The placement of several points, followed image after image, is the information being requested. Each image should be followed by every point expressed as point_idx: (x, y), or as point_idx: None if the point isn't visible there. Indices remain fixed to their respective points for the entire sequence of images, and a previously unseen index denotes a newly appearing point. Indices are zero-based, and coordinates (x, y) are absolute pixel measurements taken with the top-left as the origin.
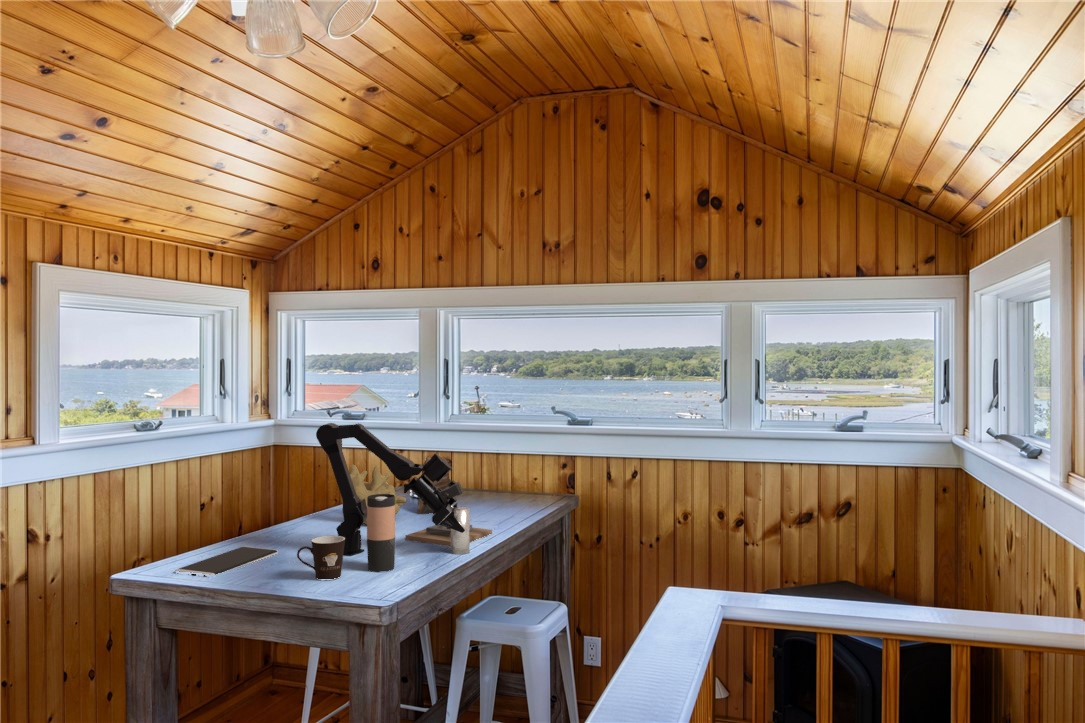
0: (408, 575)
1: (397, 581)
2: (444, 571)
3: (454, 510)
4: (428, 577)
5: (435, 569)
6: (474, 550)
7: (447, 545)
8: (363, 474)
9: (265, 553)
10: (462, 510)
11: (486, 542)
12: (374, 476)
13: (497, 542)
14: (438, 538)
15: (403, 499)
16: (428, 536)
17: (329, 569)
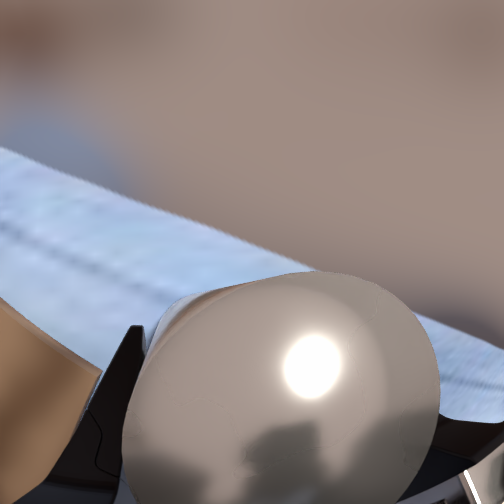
0: (472, 421)
1: (495, 420)
2: (460, 339)
3: (473, 444)
4: (488, 364)
5: (444, 375)
6: (166, 267)
7: (79, 420)
8: None
9: None
10: (436, 367)
11: (8, 212)
12: None
13: (19, 159)
14: (31, 467)
15: None
16: (12, 501)
17: None
